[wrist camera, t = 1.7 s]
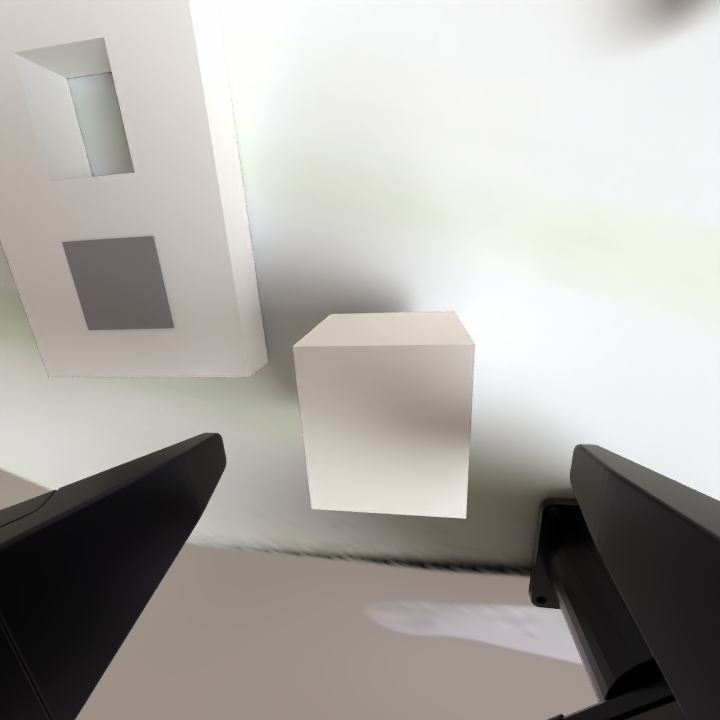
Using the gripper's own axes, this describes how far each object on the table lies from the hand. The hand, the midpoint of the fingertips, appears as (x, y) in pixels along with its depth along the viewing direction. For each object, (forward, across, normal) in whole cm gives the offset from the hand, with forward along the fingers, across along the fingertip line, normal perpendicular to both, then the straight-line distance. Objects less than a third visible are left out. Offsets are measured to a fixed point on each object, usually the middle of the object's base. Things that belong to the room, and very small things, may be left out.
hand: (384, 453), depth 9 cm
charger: (+7, 0, 0) cm, 7 cm away
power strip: (+7, +11, -10) cm, 17 cm away
